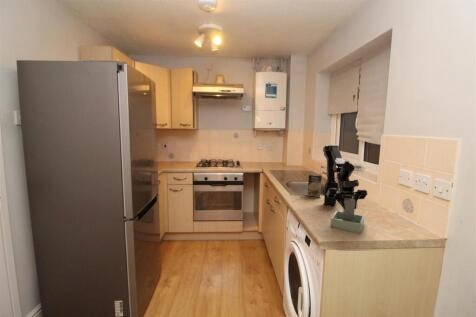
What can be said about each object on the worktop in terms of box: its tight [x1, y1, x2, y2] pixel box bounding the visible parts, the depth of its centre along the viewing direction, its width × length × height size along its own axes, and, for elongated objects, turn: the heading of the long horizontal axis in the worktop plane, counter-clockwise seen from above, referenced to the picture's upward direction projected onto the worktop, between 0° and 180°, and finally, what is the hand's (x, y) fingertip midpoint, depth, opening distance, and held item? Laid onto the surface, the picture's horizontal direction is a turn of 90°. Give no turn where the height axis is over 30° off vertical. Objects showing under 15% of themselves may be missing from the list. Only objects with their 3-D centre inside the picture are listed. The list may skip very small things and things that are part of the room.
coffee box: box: [306, 173, 323, 198], centre depth 170 cm, size 9×6×16 cm
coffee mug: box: [342, 189, 355, 202], centre depth 160 cm, size 12×9×10 cm
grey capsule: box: [342, 198, 356, 222], centre depth 117 cm, size 5×5×11 cm
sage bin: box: [330, 210, 365, 234], centre depth 118 cm, size 14×14×4 cm
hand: (349, 208), depth 116 cm, fingers closed on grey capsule, 5 cm apart
